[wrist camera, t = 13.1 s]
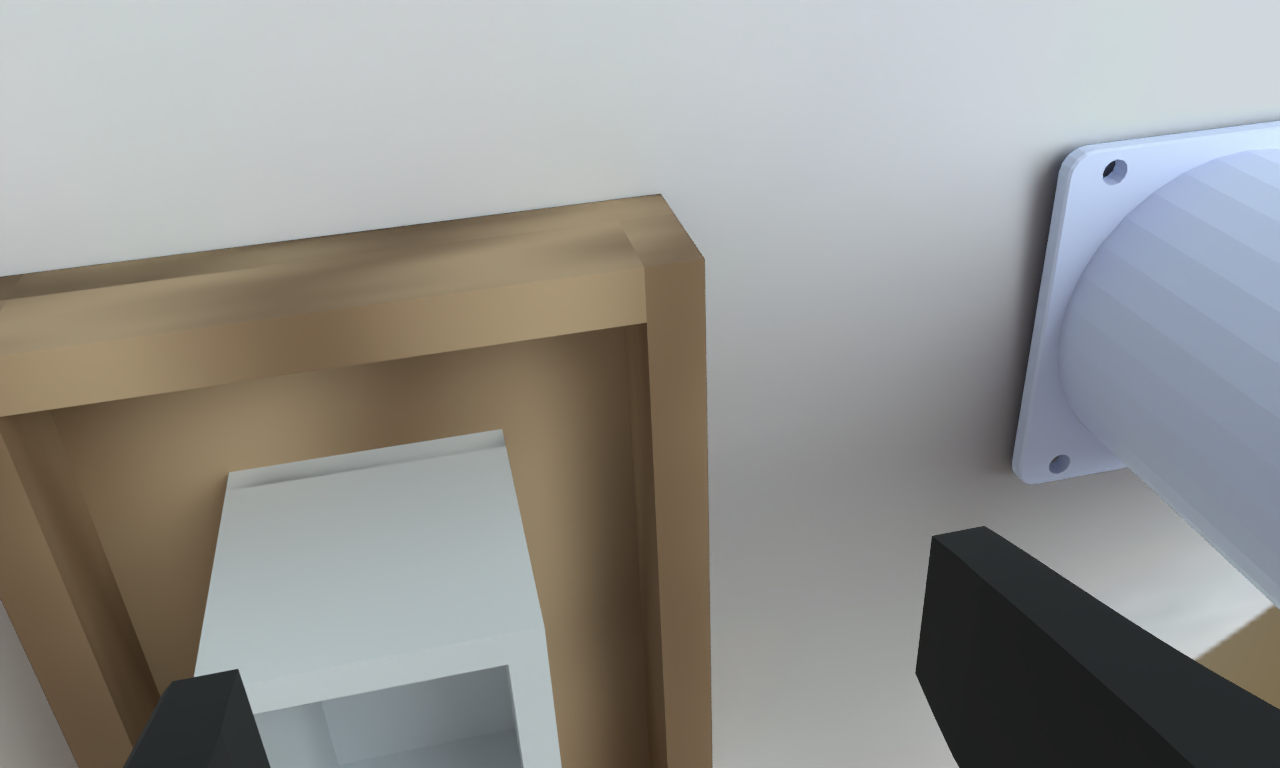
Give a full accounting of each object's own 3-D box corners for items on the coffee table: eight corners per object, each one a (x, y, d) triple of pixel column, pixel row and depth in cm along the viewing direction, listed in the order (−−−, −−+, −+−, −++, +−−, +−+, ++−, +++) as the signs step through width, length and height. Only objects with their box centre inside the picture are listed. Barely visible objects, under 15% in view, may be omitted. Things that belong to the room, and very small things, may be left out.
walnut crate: (660, 193, 20) (705, 259, 18) (682, 774, 28) (713, 875, 26) (-42, 282, 18) (-107, 370, 16) (202, 878, 26) (186, 999, 24)
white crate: (502, 428, 21) (544, 626, 16) (540, 721, 25) (583, 945, 20) (229, 472, 20) (190, 695, 15) (315, 767, 24) (307, 1012, 19)
